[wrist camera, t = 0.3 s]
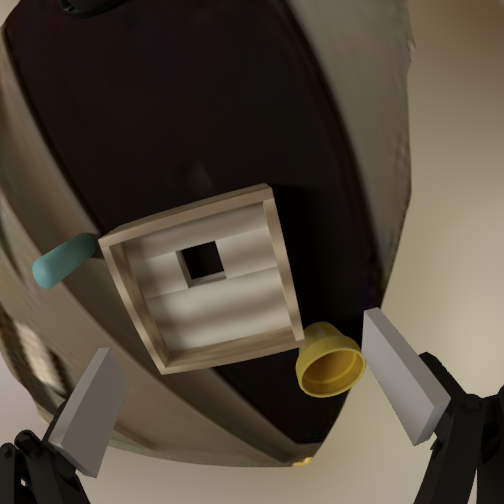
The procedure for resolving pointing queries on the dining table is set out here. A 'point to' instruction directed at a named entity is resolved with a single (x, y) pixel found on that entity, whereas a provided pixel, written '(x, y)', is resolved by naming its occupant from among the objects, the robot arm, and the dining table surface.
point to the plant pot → (328, 361)
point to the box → (208, 282)
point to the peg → (63, 260)
